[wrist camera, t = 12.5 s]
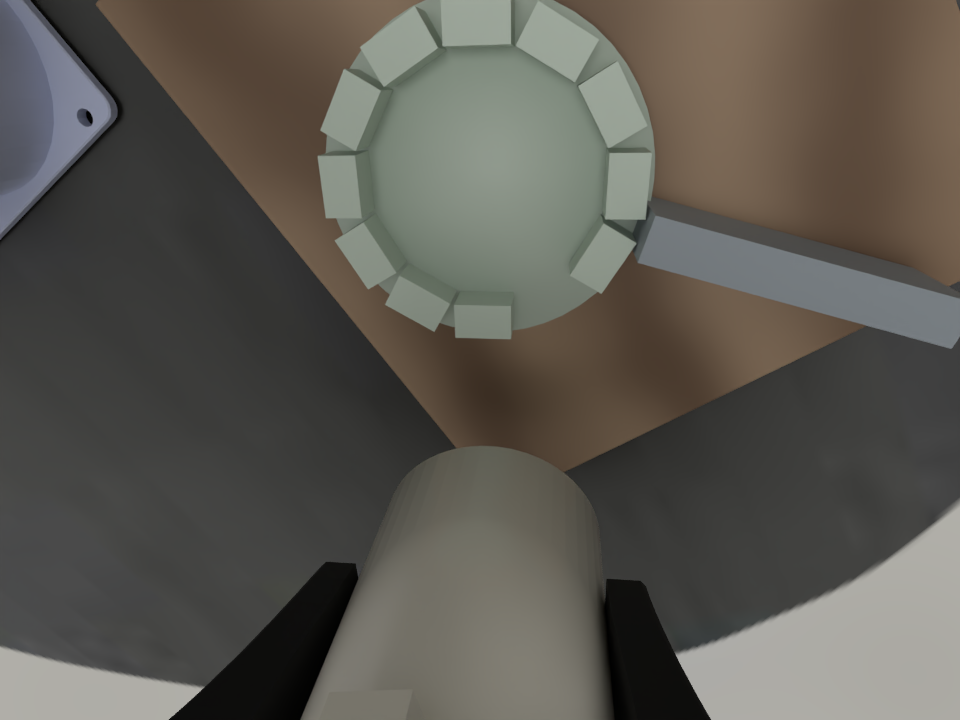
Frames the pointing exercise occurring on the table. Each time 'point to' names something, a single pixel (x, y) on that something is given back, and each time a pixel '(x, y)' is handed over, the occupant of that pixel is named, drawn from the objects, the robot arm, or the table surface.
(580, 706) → the cream round-ended cylinder
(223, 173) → the table surface
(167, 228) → the table surface
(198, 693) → the robot arm
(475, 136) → the turntable
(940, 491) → the table surface
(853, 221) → the walnut board
